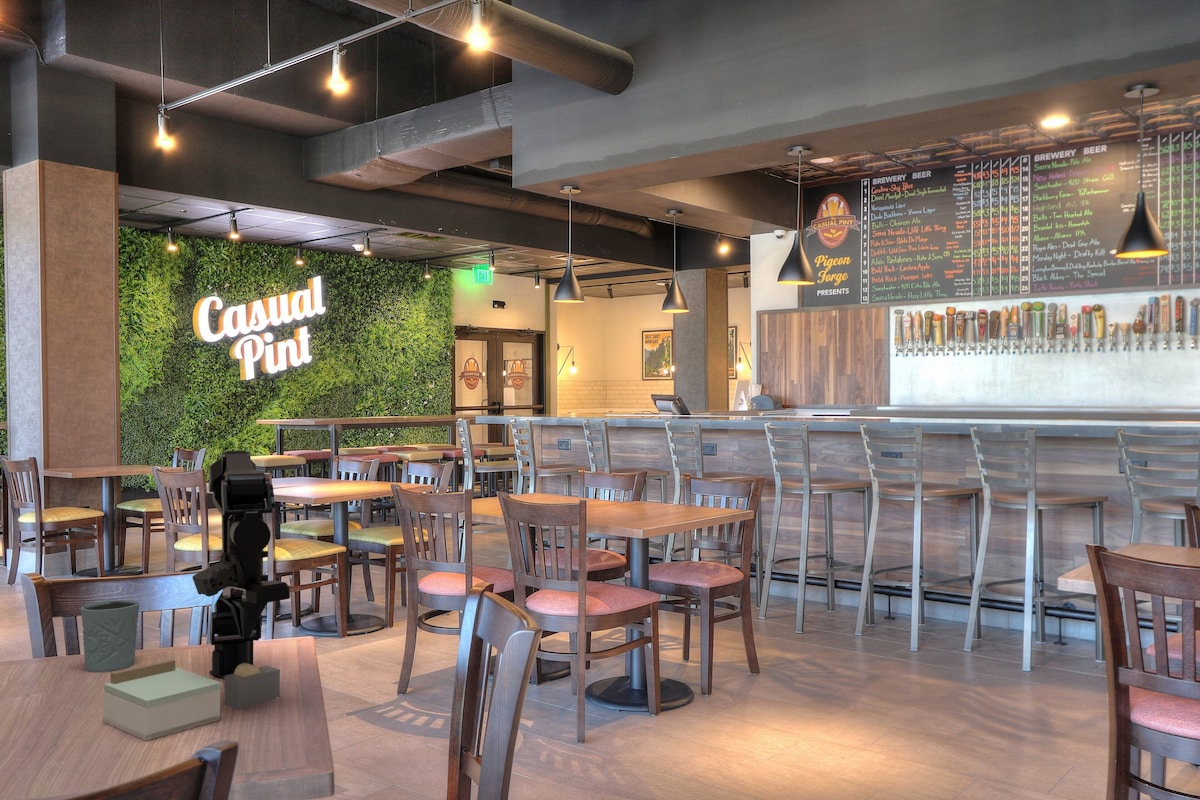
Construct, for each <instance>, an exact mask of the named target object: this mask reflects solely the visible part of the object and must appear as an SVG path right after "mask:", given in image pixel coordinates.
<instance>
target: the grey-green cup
mask: <svg viewBox="0 0 1200 800" xmlns="http://www.w3.org/2000/svg"><path fill="white" fill-rule="evenodd" d="M139 611H140V602H139V601H137V600H130V599H118V600H117V599H114V600H105V601H104V600H103V601H99V602H98V601H97V602H91V603H87V604H84V605H82V606H81V607H80V612H81V622H82V623H81V624H82V629H83V630H82V640H83V654H84V657H83V658H84V659H83V660H84V669H85V671H86V672H90V673H106V672H107V673H108V672H109V673H111V672H116V671H121V670H126V669H129V668H130V667H131V668H132V666H134V664H135V660H136V659H135V658H136V650H135V648H136V643H137V633H138V630H137V628H138V618H139Z"/></svg>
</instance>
